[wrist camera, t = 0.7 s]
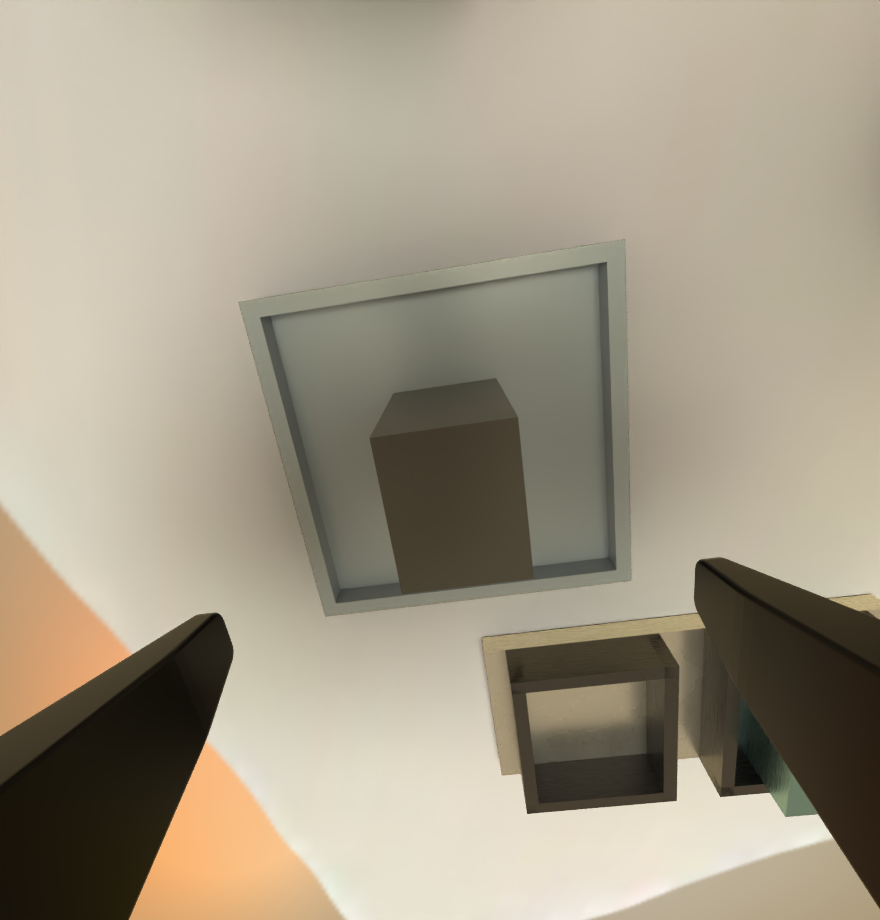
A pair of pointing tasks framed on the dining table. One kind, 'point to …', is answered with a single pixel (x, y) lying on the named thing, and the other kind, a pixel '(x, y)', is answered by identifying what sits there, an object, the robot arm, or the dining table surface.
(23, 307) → the dining table surface
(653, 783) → the double socket holder
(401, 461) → the block
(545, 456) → the tray
